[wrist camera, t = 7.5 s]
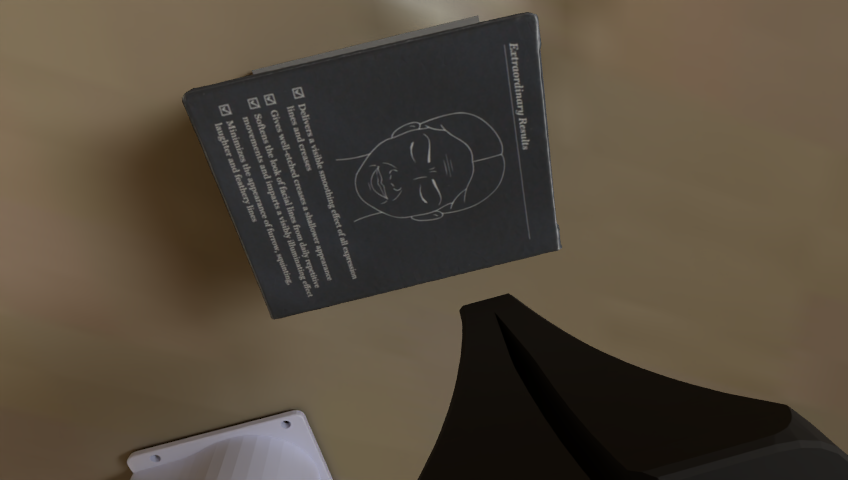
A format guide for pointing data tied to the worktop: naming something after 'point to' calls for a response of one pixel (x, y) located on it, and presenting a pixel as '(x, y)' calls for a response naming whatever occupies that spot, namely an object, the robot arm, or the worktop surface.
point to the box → (385, 163)
